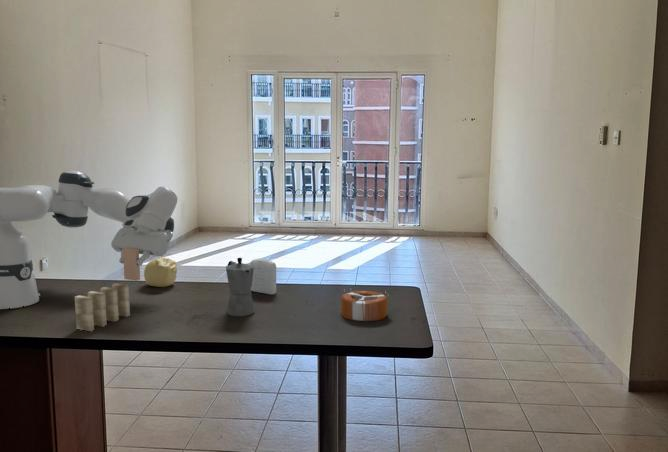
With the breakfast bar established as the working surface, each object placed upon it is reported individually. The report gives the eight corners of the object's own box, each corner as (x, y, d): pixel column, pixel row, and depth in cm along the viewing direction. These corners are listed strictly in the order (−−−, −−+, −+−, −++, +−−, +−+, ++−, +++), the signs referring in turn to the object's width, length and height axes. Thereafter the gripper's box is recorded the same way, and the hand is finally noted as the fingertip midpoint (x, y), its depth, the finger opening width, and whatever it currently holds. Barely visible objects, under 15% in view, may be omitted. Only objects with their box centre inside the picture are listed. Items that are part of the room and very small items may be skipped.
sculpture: (172, 289, 212) (171, 261, 211) (140, 289, 213) (138, 260, 211) (181, 281, 224) (180, 254, 222) (150, 281, 224) (149, 254, 222)
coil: (347, 306, 194) (391, 310, 190) (334, 319, 180) (381, 324, 175) (347, 286, 193) (391, 290, 188) (334, 298, 178) (381, 302, 174)
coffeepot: (263, 315, 183) (262, 259, 180) (235, 320, 178) (234, 263, 175) (242, 303, 196) (241, 251, 193) (216, 307, 191) (215, 254, 188)
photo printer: (278, 292, 209) (277, 259, 207) (271, 295, 205) (270, 261, 203) (255, 288, 214) (254, 256, 212) (248, 291, 210) (247, 258, 208)
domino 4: (114, 314, 183) (112, 284, 181) (117, 313, 184) (115, 283, 183) (126, 316, 181) (124, 286, 179) (130, 315, 182) (128, 284, 181)
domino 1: (76, 329, 169) (74, 296, 167) (81, 327, 171) (78, 295, 169) (89, 331, 167) (87, 298, 166) (94, 330, 169) (91, 297, 167)
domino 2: (89, 324, 174) (87, 292, 172) (93, 322, 175) (91, 291, 173) (102, 326, 172) (100, 294, 170) (106, 325, 173) (104, 292, 172)
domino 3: (102, 319, 178) (100, 288, 177) (106, 318, 180) (104, 286, 178) (114, 321, 176) (113, 290, 175) (118, 320, 178) (116, 288, 176)
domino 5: (124, 279, 186) (122, 248, 184) (127, 278, 187) (126, 247, 186) (136, 280, 184) (135, 250, 182) (140, 279, 186) (138, 249, 184)
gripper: (179, 236, 190) (161, 271, 183) (129, 232, 198) (110, 265, 190) (170, 225, 185) (151, 260, 178) (119, 221, 193) (99, 255, 186)
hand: (129, 263), depth 184 cm, fingers closed on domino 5, 5 cm apart
